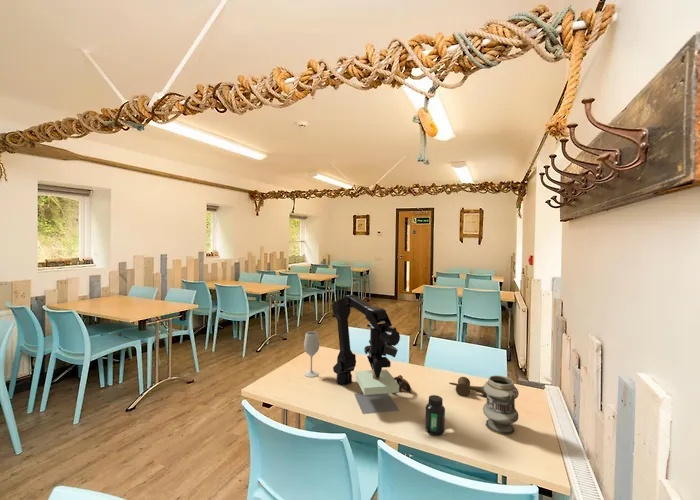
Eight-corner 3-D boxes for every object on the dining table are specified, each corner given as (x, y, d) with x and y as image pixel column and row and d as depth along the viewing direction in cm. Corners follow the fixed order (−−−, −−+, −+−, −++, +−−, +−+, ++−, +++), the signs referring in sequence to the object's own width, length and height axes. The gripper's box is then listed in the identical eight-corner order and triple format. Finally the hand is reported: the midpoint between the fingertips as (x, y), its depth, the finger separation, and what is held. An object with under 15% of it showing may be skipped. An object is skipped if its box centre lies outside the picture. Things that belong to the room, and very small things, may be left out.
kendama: (495, 404, 141) (447, 393, 149) (495, 395, 150) (449, 385, 157) (496, 390, 141) (448, 380, 148) (496, 382, 150) (450, 373, 157)
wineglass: (321, 373, 168) (322, 332, 167) (312, 378, 161) (312, 336, 161) (310, 369, 172) (310, 330, 171) (300, 375, 165) (301, 333, 165)
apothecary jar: (482, 415, 131) (484, 370, 130) (516, 422, 126) (518, 376, 125) (482, 432, 119) (483, 383, 119) (519, 440, 115) (521, 389, 114)
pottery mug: (414, 399, 143) (406, 385, 142) (394, 406, 145) (386, 392, 143) (411, 381, 155) (404, 367, 153) (392, 388, 157) (385, 374, 155)
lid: (364, 395, 128) (364, 375, 128) (355, 377, 144) (355, 360, 144) (399, 392, 131) (399, 372, 131) (386, 375, 147) (386, 358, 147)
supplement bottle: (436, 438, 115) (437, 404, 114) (421, 429, 120) (421, 396, 120) (448, 432, 119) (449, 399, 118) (433, 423, 124) (434, 391, 124)
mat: (362, 416, 128) (362, 413, 128) (353, 395, 145) (353, 393, 145) (399, 413, 131) (399, 410, 131) (386, 393, 148) (386, 390, 148)
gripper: (403, 345, 129) (402, 384, 130) (388, 332, 148) (387, 366, 148) (376, 346, 127) (375, 386, 128) (364, 333, 145) (363, 368, 146)
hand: (376, 376), depth 137 cm, fingers closed on lid, 3 cm apart
